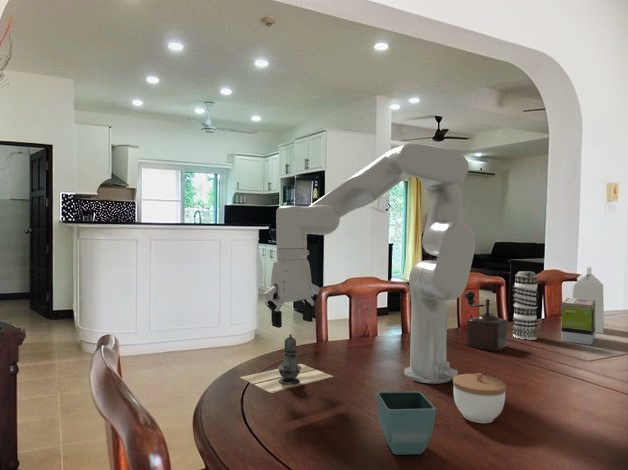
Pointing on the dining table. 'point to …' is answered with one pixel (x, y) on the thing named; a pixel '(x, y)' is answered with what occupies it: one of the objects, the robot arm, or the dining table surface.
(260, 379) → the floor strip
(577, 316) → the tea box
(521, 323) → the decorative candle
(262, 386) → the plank
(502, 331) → the dark brown coffee grinder
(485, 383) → the lidded jar
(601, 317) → the milk
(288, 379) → the salt shaker
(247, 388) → the dining table surface
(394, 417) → the flower pot
